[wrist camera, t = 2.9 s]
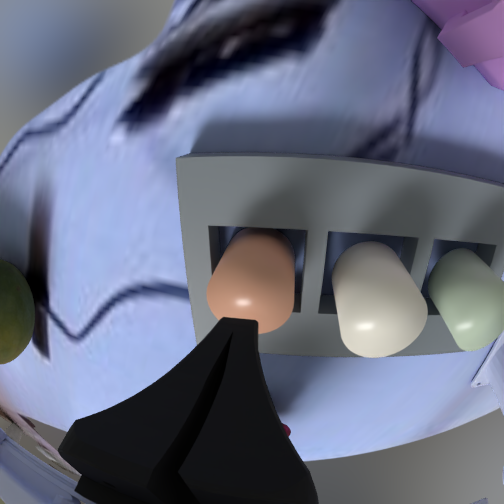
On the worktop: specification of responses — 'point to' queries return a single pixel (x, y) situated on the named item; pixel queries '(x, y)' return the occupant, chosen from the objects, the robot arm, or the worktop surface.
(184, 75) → the worktop surface
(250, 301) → the button terracotta
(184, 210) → the panel
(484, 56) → the teapot
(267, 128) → the worktop surface
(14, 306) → the fruit
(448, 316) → the button sage
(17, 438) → the house plant
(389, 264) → the button cream
